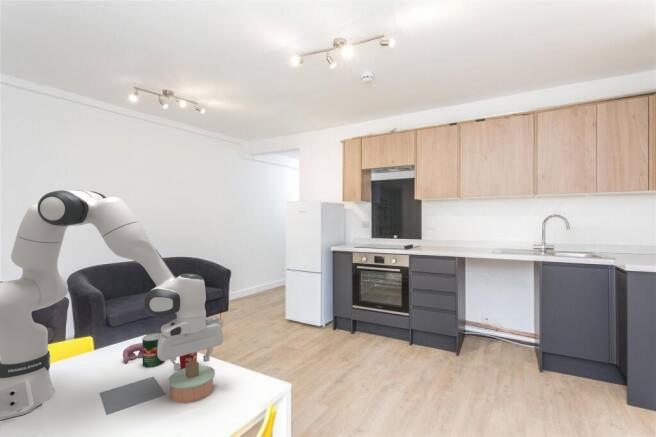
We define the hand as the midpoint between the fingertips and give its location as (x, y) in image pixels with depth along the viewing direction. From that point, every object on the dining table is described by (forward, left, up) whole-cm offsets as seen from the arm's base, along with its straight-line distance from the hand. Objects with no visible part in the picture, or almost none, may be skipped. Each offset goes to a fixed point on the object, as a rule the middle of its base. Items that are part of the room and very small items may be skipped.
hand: (192, 365), depth 106 cm
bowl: (0, 0, -9) cm, 9 cm away
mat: (-15, +12, -9) cm, 21 cm away
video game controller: (-8, +42, -9) cm, 44 cm away
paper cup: (+5, +19, -9) cm, 22 cm away
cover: (0, 0, -4) cm, 4 cm away
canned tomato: (-4, +32, -9) cm, 34 cm away
